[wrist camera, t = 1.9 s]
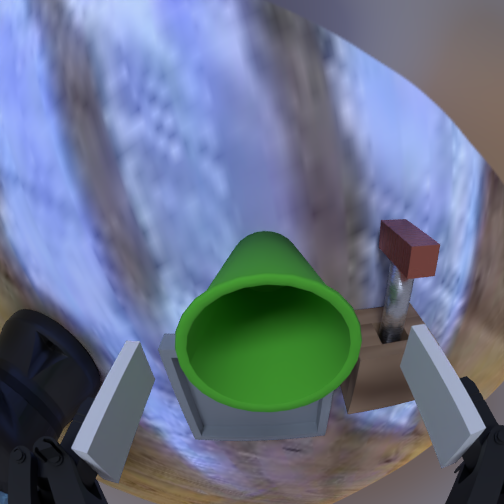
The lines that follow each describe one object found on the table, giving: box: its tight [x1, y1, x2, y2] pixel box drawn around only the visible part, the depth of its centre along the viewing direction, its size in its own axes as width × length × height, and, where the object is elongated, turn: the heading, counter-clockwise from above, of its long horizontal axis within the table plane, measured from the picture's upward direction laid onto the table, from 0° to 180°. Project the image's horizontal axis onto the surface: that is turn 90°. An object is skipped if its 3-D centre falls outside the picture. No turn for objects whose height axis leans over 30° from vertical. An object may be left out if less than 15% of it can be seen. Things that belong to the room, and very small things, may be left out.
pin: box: [378, 219, 440, 344], centre depth 20 cm, size 10×2×5 cm, turn 5°
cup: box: [175, 231, 362, 412], centre depth 18 cm, size 9×9×11 cm
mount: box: [340, 303, 439, 414], centre depth 23 cm, size 7×7×6 cm
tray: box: [158, 334, 333, 441], centre depth 28 cm, size 16×16×2 cm
